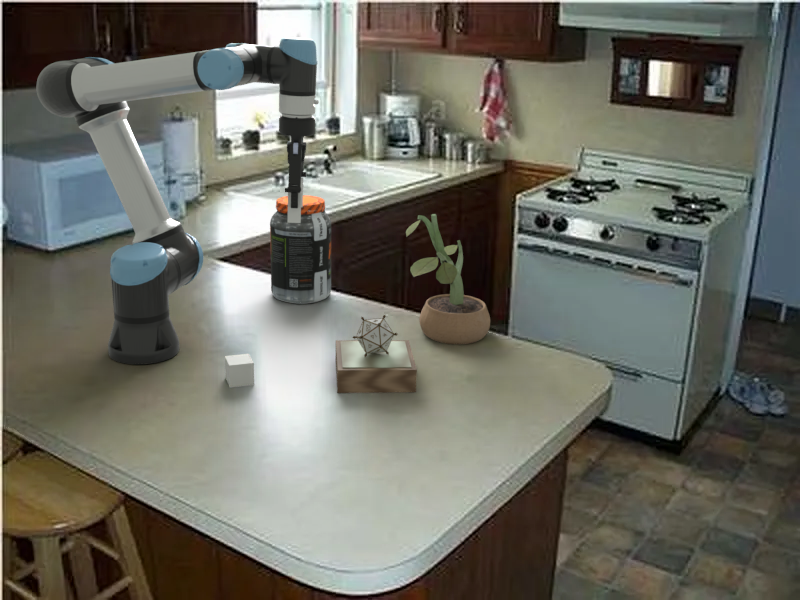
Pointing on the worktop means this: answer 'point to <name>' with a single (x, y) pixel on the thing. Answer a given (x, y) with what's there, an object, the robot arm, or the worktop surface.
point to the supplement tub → (301, 252)
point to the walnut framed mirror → (375, 368)
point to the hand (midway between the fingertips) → (295, 214)
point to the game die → (375, 335)
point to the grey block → (239, 370)
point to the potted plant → (449, 295)
